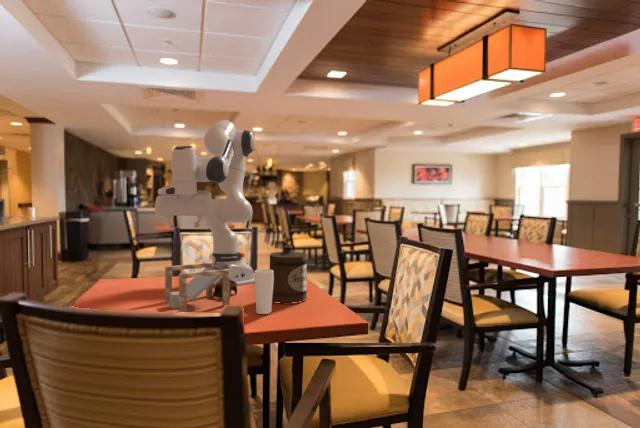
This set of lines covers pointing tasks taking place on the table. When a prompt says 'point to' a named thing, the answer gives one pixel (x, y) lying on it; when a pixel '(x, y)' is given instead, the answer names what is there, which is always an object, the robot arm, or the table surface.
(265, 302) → the tall white cup
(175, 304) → the block
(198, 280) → the trapdoor
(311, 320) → the table surface
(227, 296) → the frame
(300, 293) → the wooden container
